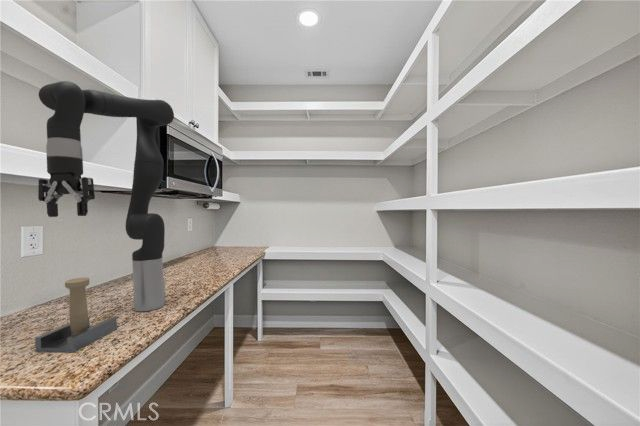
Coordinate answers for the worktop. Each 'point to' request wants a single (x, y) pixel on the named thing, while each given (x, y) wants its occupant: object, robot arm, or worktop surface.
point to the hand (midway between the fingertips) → (67, 216)
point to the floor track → (73, 337)
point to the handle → (78, 304)
